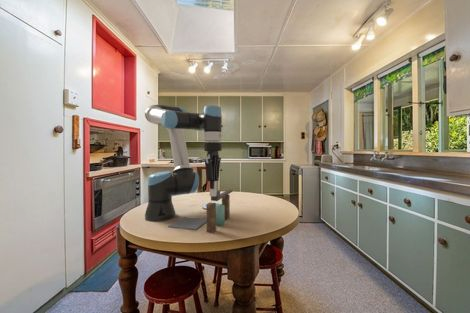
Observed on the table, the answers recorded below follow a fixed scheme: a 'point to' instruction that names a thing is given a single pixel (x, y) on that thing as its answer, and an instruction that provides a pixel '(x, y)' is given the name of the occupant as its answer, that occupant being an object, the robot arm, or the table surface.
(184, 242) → the table surface
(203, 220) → the pad
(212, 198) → the dark grey bar
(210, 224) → the frame
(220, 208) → the plug
